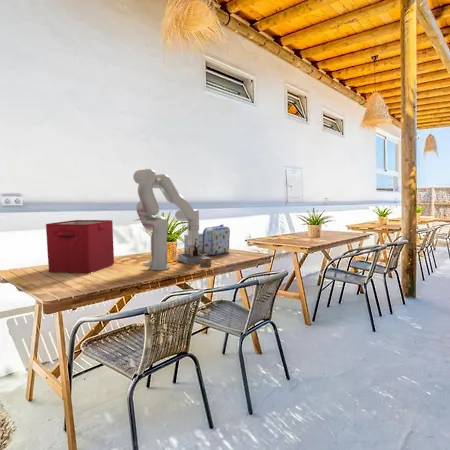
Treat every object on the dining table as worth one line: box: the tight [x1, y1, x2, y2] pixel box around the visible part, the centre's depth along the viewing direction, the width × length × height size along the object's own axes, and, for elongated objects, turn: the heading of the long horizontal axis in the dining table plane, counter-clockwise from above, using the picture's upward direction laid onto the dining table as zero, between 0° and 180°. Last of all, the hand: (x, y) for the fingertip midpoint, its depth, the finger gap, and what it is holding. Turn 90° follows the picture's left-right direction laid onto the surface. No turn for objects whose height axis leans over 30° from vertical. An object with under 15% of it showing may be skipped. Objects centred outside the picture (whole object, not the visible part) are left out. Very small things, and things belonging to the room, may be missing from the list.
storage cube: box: [45, 219, 115, 274], centre depth 203 cm, size 32×28×29 cm
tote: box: [177, 253, 207, 265], centre depth 224 cm, size 14×18×4 cm
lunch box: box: [202, 224, 231, 256], centre depth 253 cm, size 28×10×22 cm, turn 149°
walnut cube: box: [200, 256, 212, 268], centre depth 209 cm, size 5×5×5 cm
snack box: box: [183, 232, 204, 254], centre depth 257 cm, size 21×6×15 cm, turn 143°
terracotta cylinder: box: [190, 246, 198, 257], centre depth 221 cm, size 5×5×7 cm
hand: (194, 255), depth 221 cm, fingers closed on terracotta cylinder, 5 cm apart
